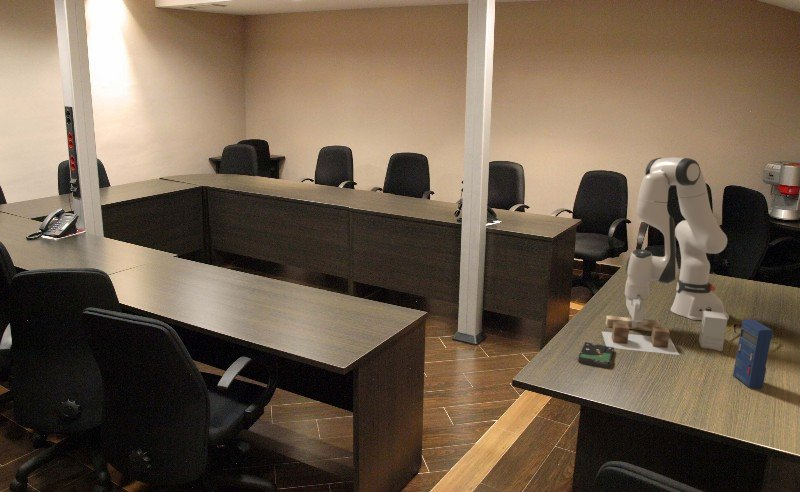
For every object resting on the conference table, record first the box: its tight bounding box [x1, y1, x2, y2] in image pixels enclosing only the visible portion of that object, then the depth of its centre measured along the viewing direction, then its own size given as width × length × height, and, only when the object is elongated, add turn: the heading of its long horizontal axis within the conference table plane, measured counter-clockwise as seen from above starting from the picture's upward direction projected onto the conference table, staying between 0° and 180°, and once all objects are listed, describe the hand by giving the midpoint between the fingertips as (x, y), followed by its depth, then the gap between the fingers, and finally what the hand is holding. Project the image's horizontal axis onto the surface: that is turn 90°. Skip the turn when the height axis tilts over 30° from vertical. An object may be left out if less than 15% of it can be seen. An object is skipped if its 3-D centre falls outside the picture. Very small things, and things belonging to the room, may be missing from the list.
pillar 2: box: [651, 326, 671, 348], centre depth 232 cm, size 5×5×6 cm
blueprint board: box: [601, 331, 680, 356], centre depth 234 cm, size 25×16×1 cm, turn 79°
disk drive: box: [577, 341, 615, 369], centre depth 221 cm, size 10×3×15 cm
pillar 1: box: [611, 323, 630, 344], centre depth 235 cm, size 5×5×6 cm
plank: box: [605, 315, 662, 332], centre depth 249 cm, size 20×4×4 cm, turn 78°
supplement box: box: [698, 311, 728, 352], centre depth 233 cm, size 7×7×13 cm
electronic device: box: [732, 318, 774, 390], centre depth 204 cm, size 10×5×20 cm, turn 5°
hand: (632, 324), depth 249 cm, fingers closed on plank, 4 cm apart
